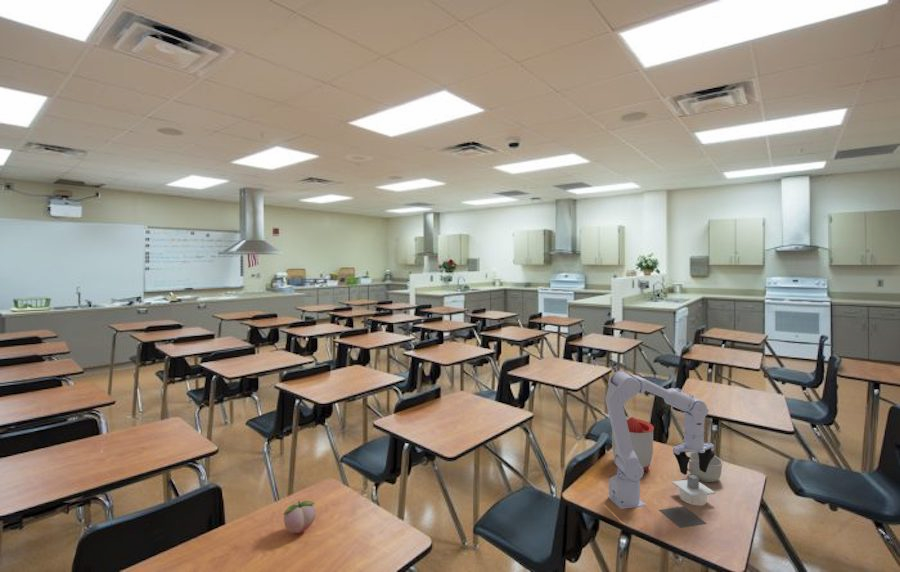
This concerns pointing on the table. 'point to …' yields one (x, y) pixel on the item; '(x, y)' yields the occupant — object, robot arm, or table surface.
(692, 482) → the lid
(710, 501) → the table surface
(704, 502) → the bowl
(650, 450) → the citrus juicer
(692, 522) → the mat
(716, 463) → the teacup
